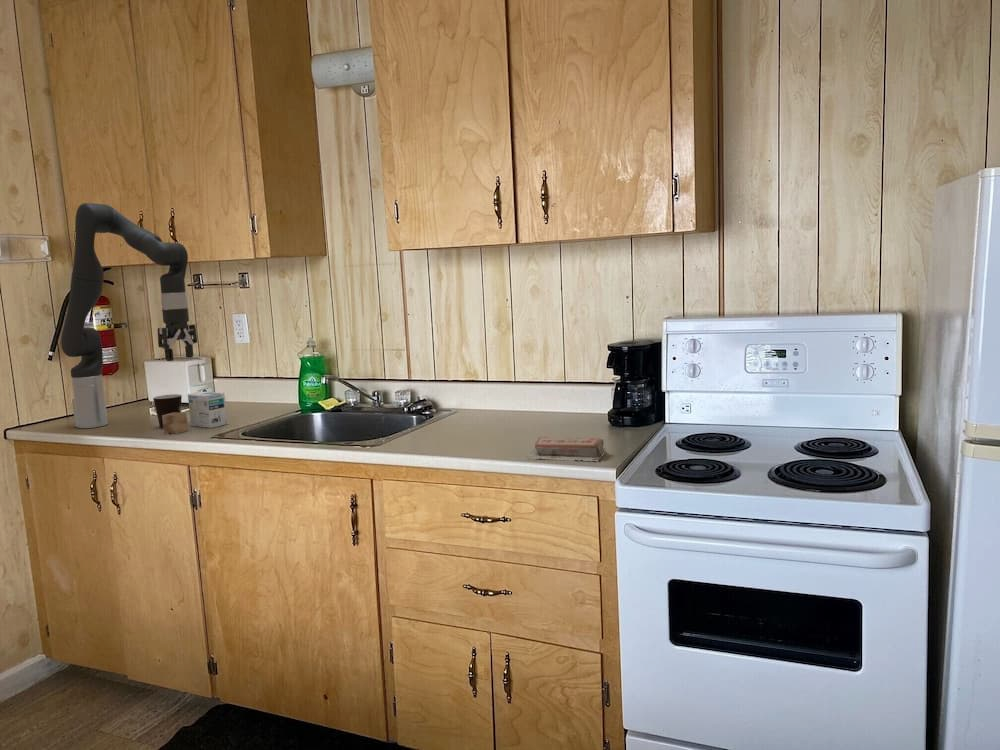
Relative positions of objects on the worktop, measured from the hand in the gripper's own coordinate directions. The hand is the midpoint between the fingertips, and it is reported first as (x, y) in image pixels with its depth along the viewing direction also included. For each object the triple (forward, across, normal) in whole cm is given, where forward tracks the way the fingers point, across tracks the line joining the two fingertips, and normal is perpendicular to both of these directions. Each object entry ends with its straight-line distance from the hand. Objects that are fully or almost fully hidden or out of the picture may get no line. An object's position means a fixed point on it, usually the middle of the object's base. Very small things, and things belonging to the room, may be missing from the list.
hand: (179, 359), depth 240 cm
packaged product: (+23, +13, +128) cm, 131 cm away
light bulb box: (+23, -9, +1) cm, 25 cm away
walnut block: (+23, +2, -2) cm, 23 cm away
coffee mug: (+23, -7, -12) cm, 27 cm away
